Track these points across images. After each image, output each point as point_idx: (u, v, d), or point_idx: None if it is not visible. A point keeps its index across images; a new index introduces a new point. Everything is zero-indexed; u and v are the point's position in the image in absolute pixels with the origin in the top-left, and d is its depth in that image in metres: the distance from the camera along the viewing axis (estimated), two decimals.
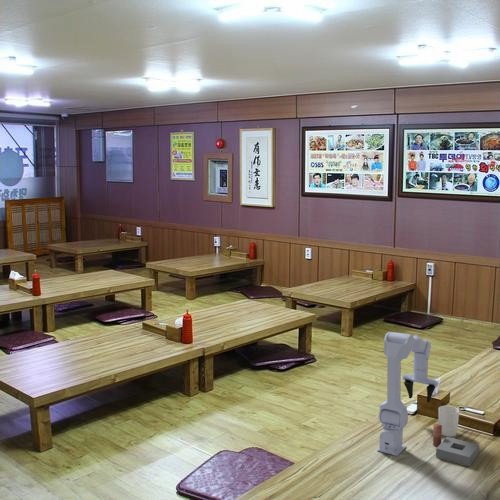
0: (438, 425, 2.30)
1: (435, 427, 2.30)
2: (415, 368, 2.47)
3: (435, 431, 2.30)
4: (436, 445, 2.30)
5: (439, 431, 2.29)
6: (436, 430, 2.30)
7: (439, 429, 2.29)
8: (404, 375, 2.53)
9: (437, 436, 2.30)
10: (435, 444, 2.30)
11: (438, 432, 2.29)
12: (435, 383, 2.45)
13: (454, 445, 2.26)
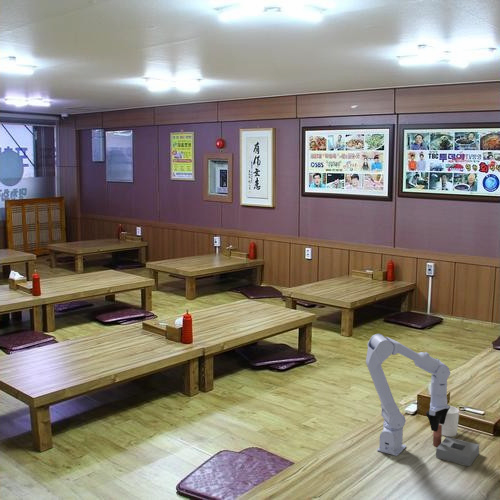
0: None
1: None
2: (431, 391, 2.30)
3: (435, 431, 2.30)
4: (436, 445, 2.30)
5: (439, 431, 2.29)
6: None
7: (439, 429, 2.29)
8: None
9: (437, 436, 2.30)
10: (435, 444, 2.30)
11: (438, 432, 2.29)
12: None
13: (454, 445, 2.26)
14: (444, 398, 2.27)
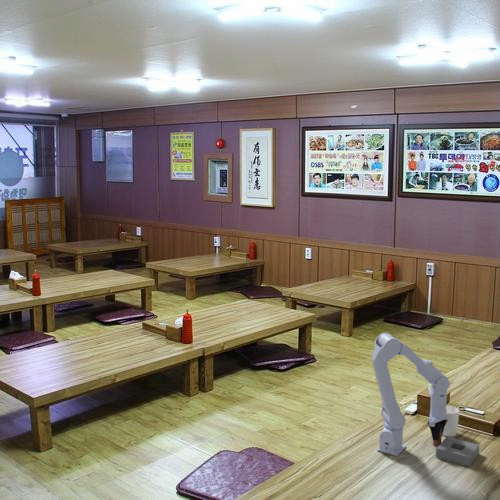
0: None
1: None
2: None
3: None
4: (436, 445, 2.30)
5: None
6: None
7: None
8: None
9: None
10: (435, 444, 2.30)
11: None
12: None
13: (454, 445, 2.26)
14: (444, 409, 2.27)
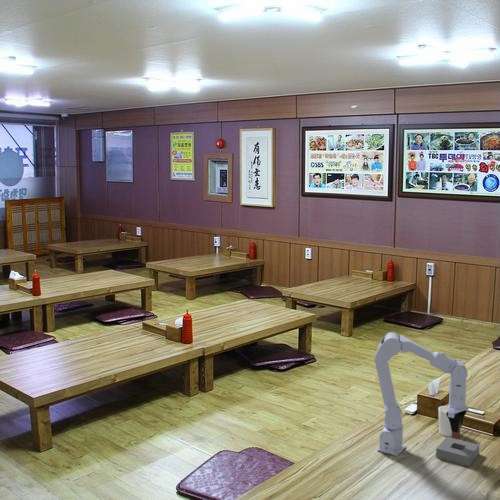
0: None
1: None
2: None
3: None
4: (455, 437, 2.22)
5: None
6: None
7: None
8: None
9: None
10: (454, 436, 2.22)
11: None
12: None
13: (454, 445, 2.26)
14: (463, 400, 2.19)
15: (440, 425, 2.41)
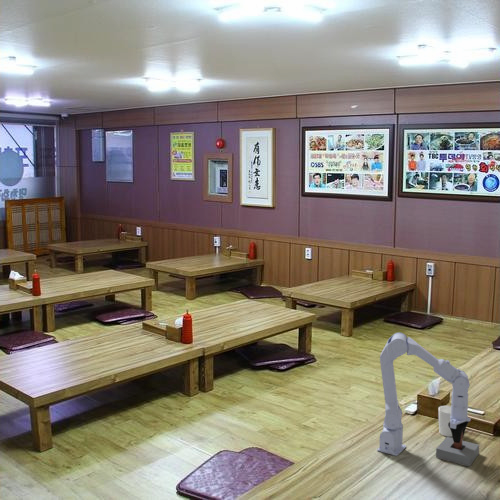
0: None
1: None
2: None
3: None
4: (457, 448, 2.21)
5: None
6: None
7: None
8: None
9: None
10: (456, 447, 2.22)
11: None
12: None
13: None
14: (465, 410, 2.18)
15: (440, 425, 2.41)
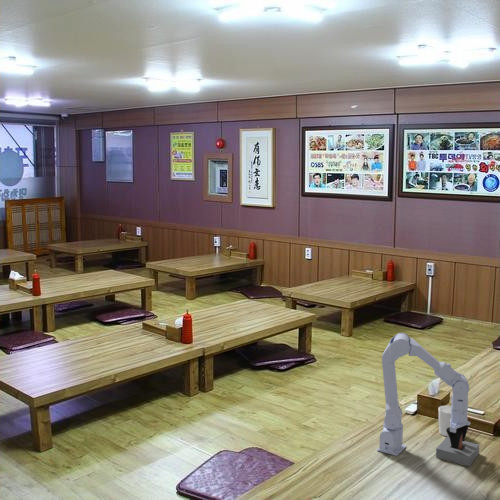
0: None
1: None
2: None
3: None
4: None
5: (460, 441, 2.21)
6: None
7: (460, 439, 2.21)
8: None
9: None
10: None
11: (459, 442, 2.21)
12: None
13: None
14: (465, 414, 2.19)
15: (440, 425, 2.41)
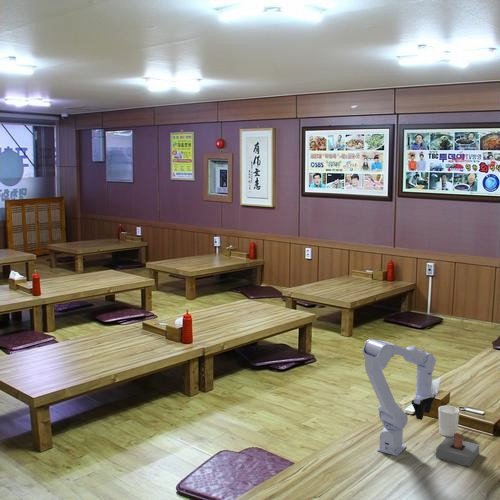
0: (459, 435, 2.22)
1: (455, 437, 2.21)
2: (417, 381, 2.34)
3: (455, 441, 2.21)
4: None
5: (460, 441, 2.21)
6: (456, 440, 2.21)
7: (460, 439, 2.21)
8: None
9: (458, 446, 2.21)
10: None
11: (458, 442, 2.21)
12: None
13: None
14: (429, 387, 2.32)
15: (440, 425, 2.41)
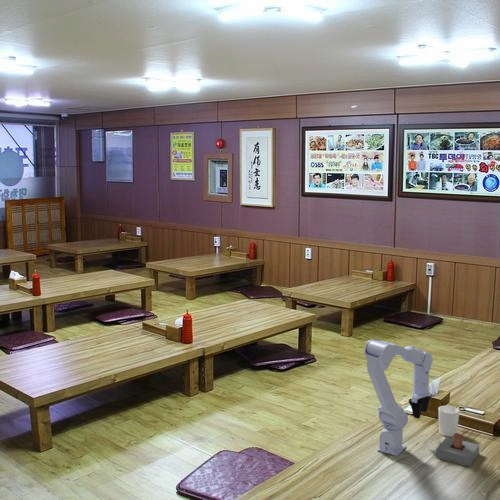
0: (459, 435, 2.22)
1: (455, 437, 2.21)
2: (414, 380, 2.35)
3: (455, 441, 2.21)
4: None
5: (460, 441, 2.21)
6: (456, 440, 2.21)
7: (460, 439, 2.21)
8: None
9: (458, 446, 2.21)
10: None
11: (459, 442, 2.21)
12: None
13: None
14: (426, 386, 2.33)
15: (440, 425, 2.41)
